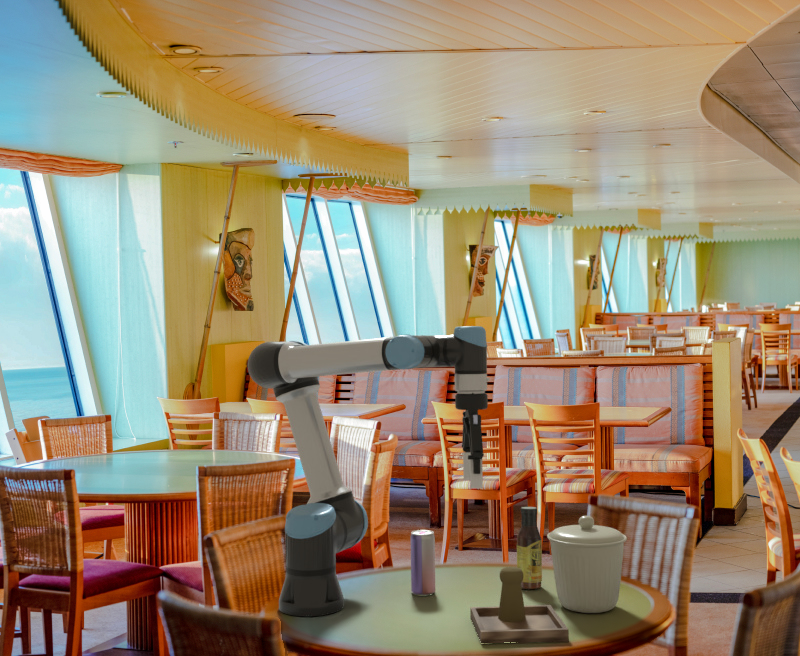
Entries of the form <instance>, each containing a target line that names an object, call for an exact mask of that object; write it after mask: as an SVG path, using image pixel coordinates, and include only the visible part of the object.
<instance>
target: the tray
mask: <svg viewBox="0 0 800 656" xmlns="http://www.w3.org/2000/svg"><path fill="white" fill-rule="evenodd" d="M499 606H500V605H498V606H493V605H492V606H470V611H469V612H470V620H472V621H471V623H472V622H473V623H472V625H474V626H473V628H474V627H475V628H474V630H475V632H477V633H476V635H477V634H478V635H477V637H479V638H478V639H480V640H479V642H480V641H481V643H504V642H510V643H511V642H516V643H515V644H530V643H529V642H546V643H569V641H570V640H569V639H570V638H569V637H570V635H569V634H570V633H569V632H570V631H569V628H568V627H567V625H566V624H565V623H564V621H563V620H562V618H561V617H560V616H559V615H558V613H557V612H556V611H555V609H554V608H553V606H552V605H551V604H541V605H540V604H535V605H534V604H533V605H524V609H525V616H526V619H525V620H524V621H521V622H505V621H501V620H500V619H498V614H499ZM517 642H518V643H517ZM481 643H480V644H481Z"/></svg>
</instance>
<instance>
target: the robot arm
mask: <svg viewBox="0 0 800 656" xmlns="http://www.w3.org/2000/svg"><path fill="white" fill-rule="evenodd" d="M486 331H487V330H486V329H485V328H484V327H483V326H481V325H480V326H478V325H476V326H474V325H471V326H470V325H466V326H455V327H454V329H453V334H449V335H437V334H436V335H423V334H422V335H421V334H420V335H412V334H399V335H396V336H389V337H388V336H387V337H379V338H377V337H376V338H368V339H367V338H366V339H356V340H350V341H349V340H347V341H346V340H345V341H338V342H336V341H335V342H327V343H316V344H307V343H305V342H301V341H297V340H290V341H266V342H263V343H260V344H258V345H257V346H256V347H254V348H253V350H252V351H251V352H250V355H249V356H248V360H247V371H248V374H249V377H250V378H251V380H252V381H253V382H254V383H255V384H256V385H258V386H260V387H261V388H265V389H272V390H273V394H274V397H275V399H276V401H277V402H279V403H282V405H284V408H285V413H286V417H287V419H288V423H289V425H290V429H291V430H290V431H291V432H292V433H291V434H292V436H293V439H294V443H295V447H296V449H297V454H298V456H299V460H300V463H301V467H302V470H303V474H304V476H305V477H304V478H305V481H306V484H307V486H308V492H309V495H310V497H309V499H308V501H307V503H306V504H301V505H297V506H294V507H293V508H291V509H290V510H288V511H287V513H286V515H285V525H284V532H285V534H284V535H285V568H286V569H285V578H284V581H283V585H282V587H281V588H282V589H281V592H280V595H279V599H278V610H279V612H280V613H283V614H285V615H289V616H294V617H317V616H318V617H319V616H325V615H331V614H334V613H337V612H339V611H341V610H342V609H344V606H345V605H344V604H345V603H344V602H345V601H344V600H345V599H344V594H343V591H342V588H341V585H340V582H339V579H338V575H337V572H336V571H337V570H336V568H337V567H336V565H337V564H336V563H337V559H336V557H337V556H336V554H338V553H340V552H343V551H346V550H349V549H351V548H353V547H355V546H356V545H357V544H358V543H360V541H362V540H363V538H364V537H365V535H366V533H367V529H368V526H369V521H368V520H369V518H368V514H367V511H366V509H365V507H364V506H363V505H362V504H361V503H360V502H358V501H357V500H355V497H354V494H353V491H352V488H349V487H347V486H345V485H344V481H343V478H342V476H341V471H340V468H339V465H338V462H337V459H336V455H335V452H334V448H333V446H332V445H333V444H332V442H331V440H330V439H331V438H330V435H329V433H328V429H327V426H326V422H325V419H324V416H323V412H322V410H321V405H320V402H319V400H318V395H317V393H318V391H319V389H320V388H321V385H320V382H319V377H324V376H327V377H328V376H337V375H347V374H358V373H359V374H362V373H370V372H372V373H373V372H381V371H382V372H383V371H399V370H411V369H423V368H447V367H448V368H453V367H454V391H455V392H456V393H455V395H454V398H455V399H454V400H455V406H454V407H455V409H456V410H462V411H463V412H462V418H461V420H462V440H461V442H462V443H461V447H462V451H463V453H462V457H463V459H462V461H463V462H462V463H463V464H462V466H463V467H462V468H463V470H462V471H463V480H464V481H466V480H467V481H469V482H470V483H469V484H470V485H469V486H470V487H469V488H470V489H483V488H484V487H483V486H484V484H483V477H484V475H483V458H484V456H485V454H484V445H483V433H482V416H481V414H479V410H487V409H488V406H489V405H488V404H489V402H488V397H489V396H488V394H487V393H486V391H488V382H490V381H491V380H490V377H488V374H487V373H488V362H487V361H488V351H487V350H488V344H487V343H488V342H487V333H486Z"/></svg>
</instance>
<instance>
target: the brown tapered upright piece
mask: <svg viewBox="0 0 800 656" xmlns="http://www.w3.org/2000/svg"><path fill="white" fill-rule="evenodd" d="M499 579H500V582H501V589H500V590H501V591H500V599H499V605H498V606H499V614H498V619H500V620H501V621H505V622H521V621H524V620H525V619H526V616H525V609H524V606H525V602H524V594H523V590H522V587H521V582H522V581H523V572H522V570H521V569H520V568H517V566H505V567H503V568H501V569H500V571H499Z"/></svg>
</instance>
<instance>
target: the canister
mask: <svg viewBox="0 0 800 656" xmlns="http://www.w3.org/2000/svg"><path fill="white" fill-rule="evenodd" d="M546 537H547V539H548V540H549V542H550V543H549V544H550V551H551V553H550V554H551V558H552V559H551V560H552V567H553V575H554V582H555V589H556V594H557V599H558V601H559V603H560V604H561V606H562V607H564V608H565V609H567V610H569V611H572V612H576V613H583V614H601V613H605V612H608V611H611V610H612V609H613V610H614V608H615V607H616V605H617V603H618V601H619V597H620V591H621V590H620V589H621V580H622V572H623V571H622V570H623V561H624V559H623V558H624V546H625V542H626V541H627V539H628V538H627V536H626V535H625V534H623V533H622V532H621V531H619V530H618V529H616V528H614V527H609V526H604V525H597V524H595V520H594V518H593V517H592V516H590V515H582V516H580V517H579V518H578V524H571V525H563V526H559V527H556V528H554V530H552V531H550V532H548V533H547V534H546Z"/></svg>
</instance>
